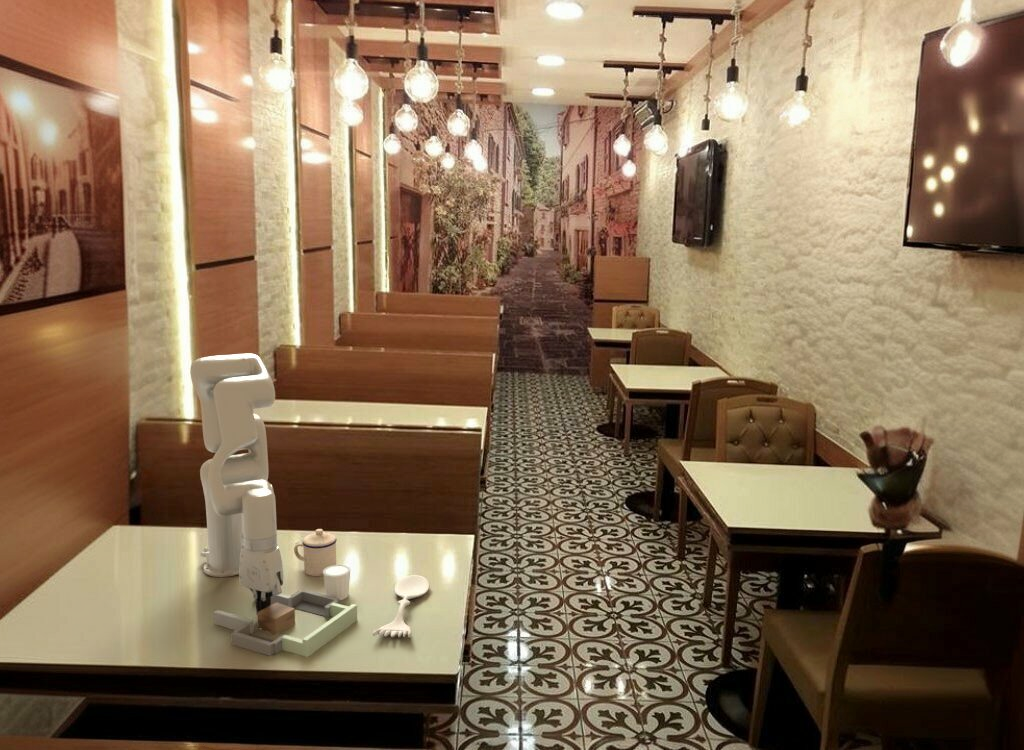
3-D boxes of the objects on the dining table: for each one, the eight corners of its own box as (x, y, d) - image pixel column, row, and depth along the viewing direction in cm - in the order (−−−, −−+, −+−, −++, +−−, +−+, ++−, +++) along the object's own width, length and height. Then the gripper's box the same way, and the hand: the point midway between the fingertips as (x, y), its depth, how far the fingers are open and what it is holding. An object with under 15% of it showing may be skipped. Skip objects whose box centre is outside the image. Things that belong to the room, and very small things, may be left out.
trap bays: (229, 643, 177) (229, 633, 177) (301, 597, 199) (301, 588, 199) (272, 656, 172) (271, 646, 171) (341, 608, 194) (341, 598, 194)
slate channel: (208, 627, 184) (207, 611, 183) (263, 595, 200) (262, 580, 200) (307, 657, 172) (306, 640, 171) (357, 620, 188) (356, 604, 188)
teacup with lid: (342, 564, 219) (341, 525, 217) (329, 578, 210) (328, 537, 208) (302, 560, 221) (301, 521, 219) (287, 574, 212) (286, 533, 210)
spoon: (371, 645, 178) (371, 631, 177) (399, 583, 209) (398, 570, 208) (410, 647, 177) (410, 633, 176) (432, 584, 208) (432, 572, 208)
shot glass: (344, 603, 197) (343, 577, 195) (319, 600, 198) (318, 574, 197) (355, 591, 203) (354, 565, 202) (330, 588, 205) (329, 563, 203)
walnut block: (257, 628, 184) (257, 612, 183) (277, 617, 189) (276, 602, 189) (275, 635, 181) (275, 619, 180) (295, 624, 186) (294, 608, 186)
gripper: (224, 541, 185) (228, 613, 188) (274, 553, 178) (277, 627, 182) (247, 530, 191) (251, 600, 195) (296, 541, 185) (298, 613, 188)
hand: (263, 613), depth 188 cm, fingers closed
